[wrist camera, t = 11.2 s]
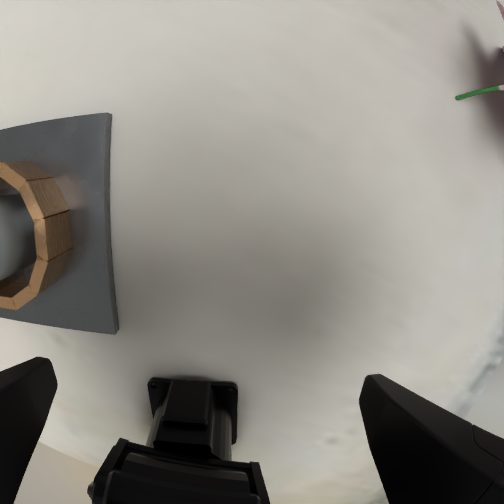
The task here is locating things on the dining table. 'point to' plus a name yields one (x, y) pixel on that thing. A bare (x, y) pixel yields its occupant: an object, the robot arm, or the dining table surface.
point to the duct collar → (62, 223)
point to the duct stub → (15, 236)
